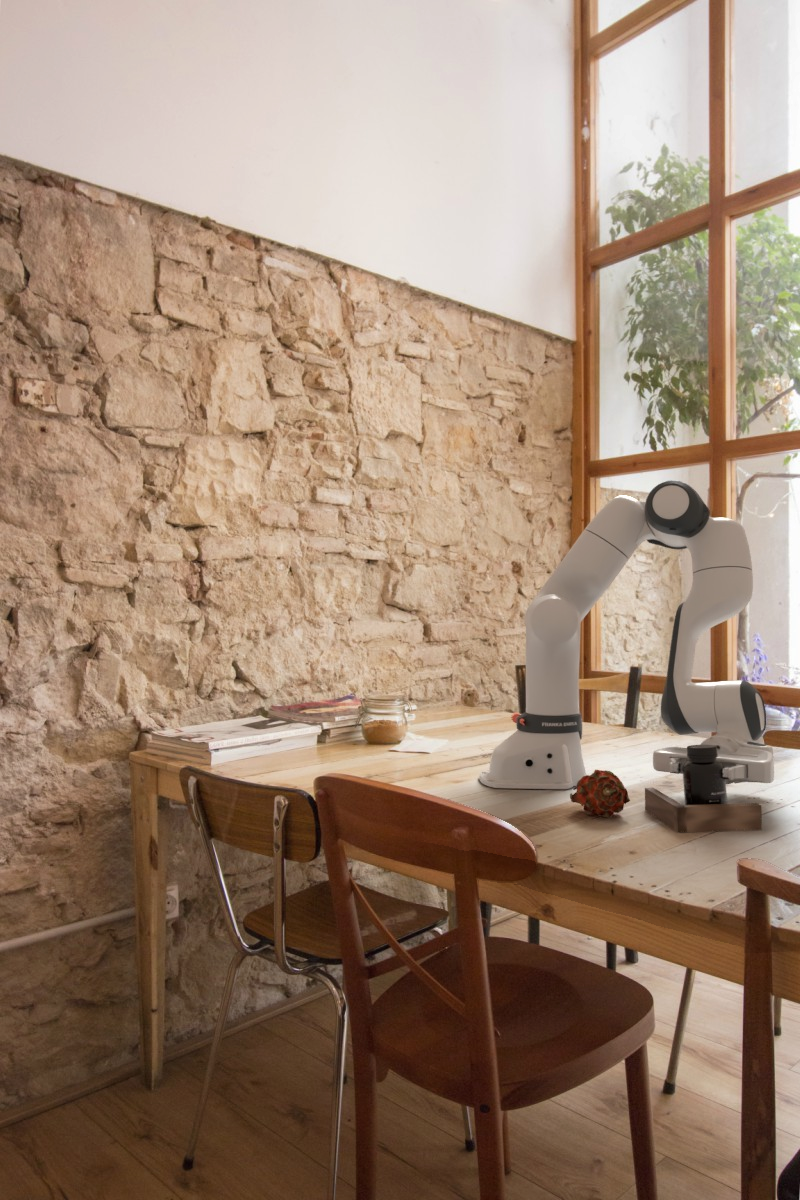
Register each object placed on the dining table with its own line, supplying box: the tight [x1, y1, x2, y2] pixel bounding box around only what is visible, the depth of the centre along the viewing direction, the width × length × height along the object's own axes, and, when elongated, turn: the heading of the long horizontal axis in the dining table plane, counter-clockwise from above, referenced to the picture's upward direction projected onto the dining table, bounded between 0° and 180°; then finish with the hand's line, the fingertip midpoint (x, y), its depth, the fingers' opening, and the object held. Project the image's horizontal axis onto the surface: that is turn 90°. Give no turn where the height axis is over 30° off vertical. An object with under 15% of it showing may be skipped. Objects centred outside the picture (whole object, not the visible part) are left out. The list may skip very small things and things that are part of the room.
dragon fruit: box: [569, 769, 631, 819], centre depth 151 cm, size 8×8×12 cm
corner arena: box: [644, 787, 763, 833], centre depth 146 cm, size 14×15×4 cm
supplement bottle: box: [682, 744, 728, 805], centre depth 146 cm, size 7×7×12 cm
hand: (699, 771), depth 145 cm, fingers open, 7 cm apart
